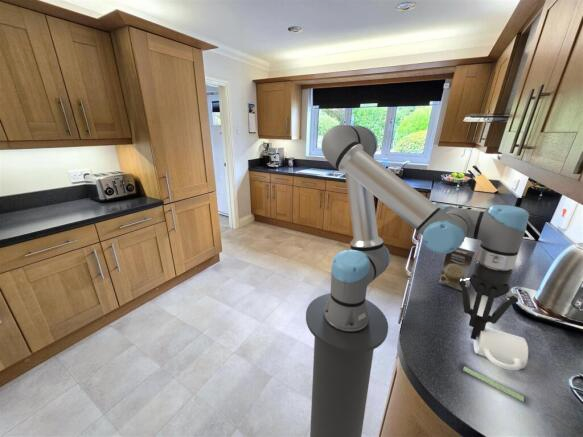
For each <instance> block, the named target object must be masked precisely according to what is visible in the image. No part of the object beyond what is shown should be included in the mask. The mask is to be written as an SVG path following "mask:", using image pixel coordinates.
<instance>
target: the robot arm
mask: <svg viewBox="0 0 583 437" xmlns="http://www.w3.org/2000/svg"><path fill="white" fill-rule="evenodd" d="M378 144H379V143H378V138H377V136H376V134H375V132H374V131H373V130H372V129H371V128H368V127H366V126H364V125H363V126H362V125H347V124H338V125H334V126H332V127H330V128H329V129H328V130H327V131H326V132H325V134H324V135H323V137H322V141H321V152H322V154H323V156H324V158H325V159H326V161H327V162H328V163H329V164H330V165H331V166H332V167H333V168H335V169H336V170H337V171H338V172H339V173H341V174H342V173H343V174H344V176H345V183H346V190H347V191H346V192H347V198H348V207H349V213H350V221H351V222H350V223H351V230H352V236H353V237H352V240H351V241H350V242H349V245H350V249H348V250H342V251H339V252H338V253H336V254H335V255H334V257H333V259H332V264H331V278H330V297H329V299H328V301H327V303H326V305H325V308H324V318H325V320H326V322H327V323H328V324H329V325H330V326H331V327H332V328H334V329H336V330H338V331H341V332H345V333H357V332H360V331H362V330H364V329H365V328H366V327H367V325H368V321H369V314H368V310H367V306H366V302H365V299H366V297H367V291H368V290H367V289H368V286H369V285H370V284H371V283H373V281H375V280H376V279H377V278H378V277H380V275H382V274H383V273H384V272H385V271H386V270H387V268H388V267H389V266H390V262H391V253H390V251H389V249H388V247H386V246H385V243H384V239H383V238H381V236H379V232H378V224H377V216H376V215H377V214H376V207H375V198H377V199H378V200H379V201H380V202H382V203H383V204H384V205H385V206H386V207H387V208H389V209H390V210H391V211H393V212H394V213H395V214H396V215H397V216H399V217H400V218H401V219H402V220H403V221H405V222H406V223H407V224H408V225H410V226H411V227H412V228H413V229H415V230H416V231H417V232H418V233H419V234H421V235H422V241H423V243H424V246H425V247H426V248H427V249H428V250H430V251H431V252H433V253H436V254H438V255H439V254H440V255H446V254H447V253H451V252H453V251H455V250H456V249H457V248H458V247H459V248H461V246H462V245H463V243H465V239H466V238H468V239H473V240H479V241H480V245H479V249H478V253H477V255H476V256H477V257H476V259H477V260H476V261H475V263H474V267H473V271H472V272H473V273H472V274H470V276H469V277H468V278H467V279H464V278H461V279H460V281H459V284H460V286H461V288H462V291H461V293H462V304H463V305H462V306H463V312H464V313H465V314H467V315H469V316H470V318H469V322H468V326H469V327H471V328H472V331H471V334H470V339H472V340H473V341H474V340H476V337H477V334H478V331H479V330H481V331H484V329H485V327H487V326H486V325H487V324H488V323H491V324H497V322H499V320H500V319H501V318H502V316H503V315H504V314H505V313H506V311H508V309H509V308H510V307H511V306H512V305H514V304H516V303H518V302H519V295H518V294H517V293H514V292H513V291H512V290H510V289H511V288H510V281H511V278H512V275H513V269H514V268H515V264H516V262H517V258H518V255H519V251H520V249H521V245H522V242H523V240H524V236H525V234H526V231H527V226H528V222H529V218H530V213H529V212H528V211H527V210H526V209H524V208H521V207H519V206H515V205H507V204H504V205H503V204H493V205H491V206H490V207H489V209H488V210H487V211H483V210H477V209H476V210H475V209H469V208H463V207H457V206H453V205H436V204H435V203H434V202H433V201H432V200H430V199H429V198H428V197H426V196H425V195H423V194H422V193H421V192H419V191H418V190H417V189H415V188H414V187H412V186H411V185H410V184H408V183H407V182H406V181H405V180H403V179H402V178H400V177H399V176H398V175H396V174H395V173H394V172H393V171H391V170H390V169H389V168H387V167H386V166H384V165H383V164H382V163H380V162H379V161H378V160H376V159H375V154H376V152H377V150H378V146H379V145H378ZM470 286H472V289H473V290H474V291H475V292H476V295H475V299H474V303H473V307H472V308H471V299H470V288H469V287H470ZM504 295H505V296H504ZM483 296H485V297H487V299H486V301H485V302H486V303H485V306H484V310H483V313H482V315H479V314H478V312H479V309H480V305H481V302H482V297H483ZM502 296H504V299H503V300H502V302H501V303H500V304H499V305H498V307H497V308H496V309H495V310H494V312H493V313H492V314H491V310H492V307H493V304H494V301H495V299H497V298H500V297H502Z"/></svg>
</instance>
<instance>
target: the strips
mask: <svg viewBox="0 0 583 437" xmlns="http://www.w3.org/2000/svg"><path fill="white" fill-rule="evenodd" d="M462 371H463V372H464V373H467V374H469V375H471V376H473V377H474V378H476V379H478V380H480V381H482V382H484V383H486V384H488V385H489V386H491V387H494V388H496V389H497V390H499V391H501V392H503V393H505V394H507V395H509V396H511V397H512V398H515V399H517V400H519V401H520V402H525V396H523V395H522V394H520V393H518V392H516V391H514V390H512V389H510V388H508V387H506V386H504V385H502V384H500V383H498V382H497V381H494V380H492V379H490V378H489V377H487V376H484V375H482V374H480V373H478V372H476V371H475V370H472V369H470V368H469V367H467V366H463V369H462Z"/></svg>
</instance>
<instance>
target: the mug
mask: <svg viewBox="0 0 583 437" xmlns="http://www.w3.org/2000/svg"><path fill="white" fill-rule="evenodd" d="M473 349H474V353H475V354H476V355H480V356H482V357H486V358H487V360H488V361H489V362H490V363H491V364H493V365H494V366H496V367H499V368H501V369H504V370H507V371H519V370H521V369H524V368H525V367H526V366H527V363H528V360H529V346H528V342H527V340H526V338H524V337H523V336H519V335H515V334H513V333H509V332H505V331H502V330H499V329H495V328H491V327H487V326H485V329H484V331H481V330H479V331H478V334H477V337H476V340H474V339H473Z"/></svg>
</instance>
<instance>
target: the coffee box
mask: <svg viewBox="0 0 583 437" xmlns="http://www.w3.org/2000/svg"><path fill="white" fill-rule="evenodd" d="M475 253H476V252H475V251H473V250H469V249H466V248H462V247H458V248H457V249H456V250H455V251H453V252H451V253H447V254H445V257H444V261H443V265H442V269H441V272H440V276H439V281H438V283H439V284H441V285H444V286H447V287H449V288H452V289H456V290H459V291H460V292H462V288H461V286H460V284H459V281H460V279H461V278H464V279H467V278H469V275H470V271H471V267H472V264H473V260H474V256H475Z"/></svg>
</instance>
